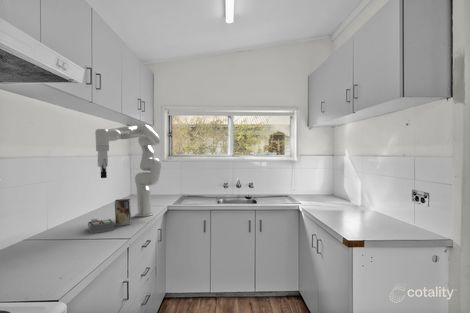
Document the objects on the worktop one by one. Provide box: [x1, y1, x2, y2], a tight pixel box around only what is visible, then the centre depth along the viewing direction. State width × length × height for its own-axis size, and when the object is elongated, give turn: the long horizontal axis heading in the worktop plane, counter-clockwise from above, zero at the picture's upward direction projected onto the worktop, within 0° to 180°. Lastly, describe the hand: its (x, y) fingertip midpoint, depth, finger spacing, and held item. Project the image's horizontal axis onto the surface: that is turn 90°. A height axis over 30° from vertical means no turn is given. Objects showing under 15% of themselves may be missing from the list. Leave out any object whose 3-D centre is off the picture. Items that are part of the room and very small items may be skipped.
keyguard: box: [87, 218, 115, 234], centre depth 190 cm, size 13×13×4 cm
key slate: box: [90, 217, 99, 223], centre depth 191 cm, size 4×4×4 cm
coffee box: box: [114, 198, 132, 227], centre depth 203 cm, size 9×6×16 cm
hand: (103, 177), depth 196 cm, fingers closed
